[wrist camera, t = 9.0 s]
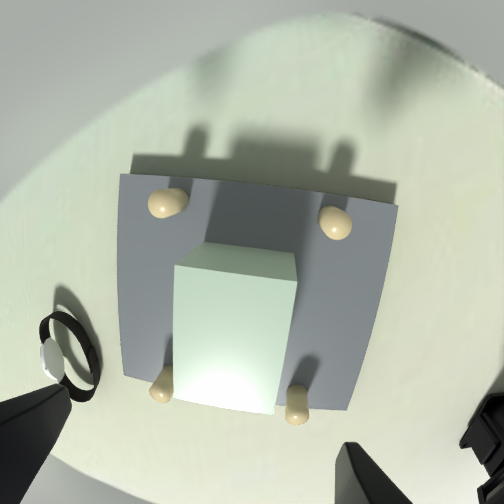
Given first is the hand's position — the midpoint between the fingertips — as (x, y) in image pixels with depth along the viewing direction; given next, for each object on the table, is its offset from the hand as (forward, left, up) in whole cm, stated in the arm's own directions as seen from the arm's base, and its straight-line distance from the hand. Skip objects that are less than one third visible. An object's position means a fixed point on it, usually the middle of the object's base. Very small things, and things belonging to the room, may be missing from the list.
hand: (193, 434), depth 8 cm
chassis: (0, 0, -12) cm, 12 cm away
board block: (0, 0, -10) cm, 10 cm away
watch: (+13, +7, -12) cm, 19 cm away
